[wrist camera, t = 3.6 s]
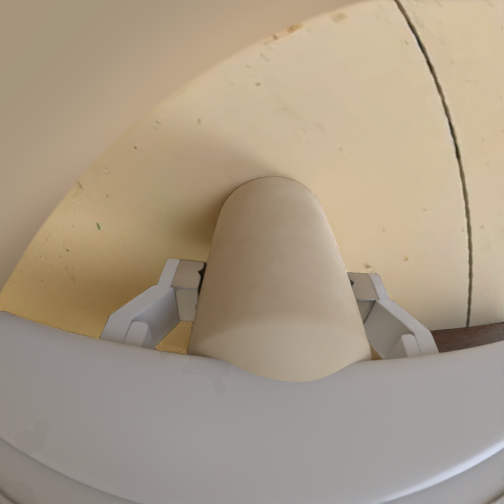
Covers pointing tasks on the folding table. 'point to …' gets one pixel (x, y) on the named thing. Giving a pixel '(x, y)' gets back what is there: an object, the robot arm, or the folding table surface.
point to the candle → (277, 288)
